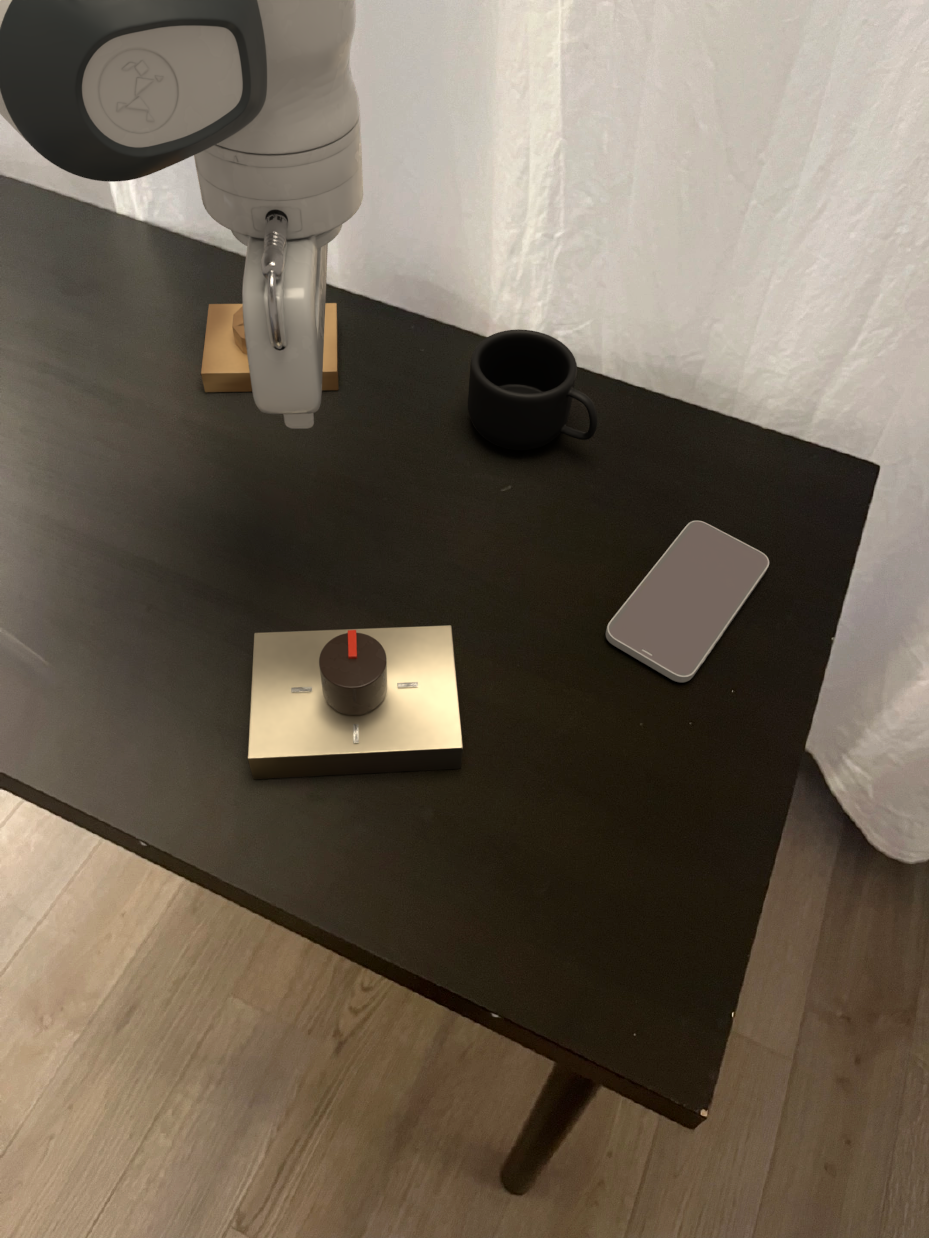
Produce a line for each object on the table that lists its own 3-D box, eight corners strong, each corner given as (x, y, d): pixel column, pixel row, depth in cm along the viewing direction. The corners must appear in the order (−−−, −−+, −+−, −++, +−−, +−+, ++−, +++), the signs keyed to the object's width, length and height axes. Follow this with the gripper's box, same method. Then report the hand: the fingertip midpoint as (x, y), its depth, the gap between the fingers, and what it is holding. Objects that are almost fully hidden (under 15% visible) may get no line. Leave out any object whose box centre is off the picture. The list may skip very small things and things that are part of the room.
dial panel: (253, 779, 64) (247, 757, 62) (259, 656, 70) (253, 631, 67) (460, 768, 65) (463, 746, 63) (449, 648, 71) (451, 623, 69)
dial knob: (388, 713, 64) (388, 683, 61) (322, 717, 64) (318, 687, 61) (385, 659, 67) (385, 627, 64) (322, 662, 66) (318, 630, 63)
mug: (446, 432, 85) (450, 368, 79) (500, 378, 90) (506, 314, 84) (563, 490, 81) (576, 428, 76) (612, 431, 86) (628, 368, 80)
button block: (204, 392, 86) (197, 356, 83) (212, 323, 92) (205, 287, 89) (338, 390, 87) (336, 355, 84) (337, 322, 93) (335, 286, 90)
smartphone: (774, 558, 77) (688, 682, 69) (771, 566, 78) (685, 689, 70) (693, 516, 79) (601, 631, 71) (690, 523, 80) (599, 638, 72)
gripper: (335, 282, 46) (350, 485, 57) (341, 79, 58) (353, 280, 69) (200, 281, 45) (242, 487, 56) (235, 77, 57) (264, 279, 68)
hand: (303, 371), depth 63 cm, fingers open, 8 cm apart
